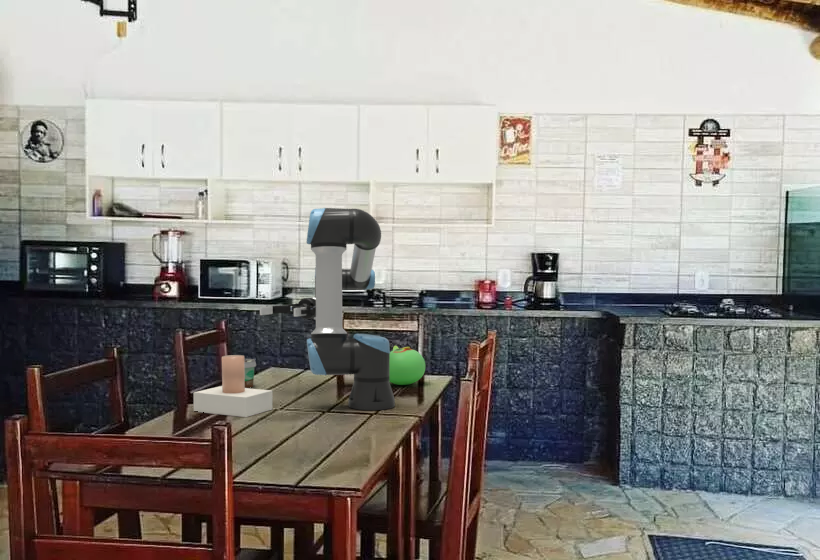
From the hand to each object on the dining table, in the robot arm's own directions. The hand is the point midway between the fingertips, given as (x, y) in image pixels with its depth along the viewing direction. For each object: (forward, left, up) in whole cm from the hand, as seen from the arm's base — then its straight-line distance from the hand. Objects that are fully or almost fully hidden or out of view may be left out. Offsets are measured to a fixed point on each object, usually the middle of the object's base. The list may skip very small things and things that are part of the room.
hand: (277, 311), depth 278 cm
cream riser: (+3, +20, -30) cm, 36 cm away
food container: (+25, -17, -30) cm, 43 cm away
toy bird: (-23, -49, -30) cm, 62 cm away
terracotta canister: (+3, +20, -24) cm, 31 cm away
